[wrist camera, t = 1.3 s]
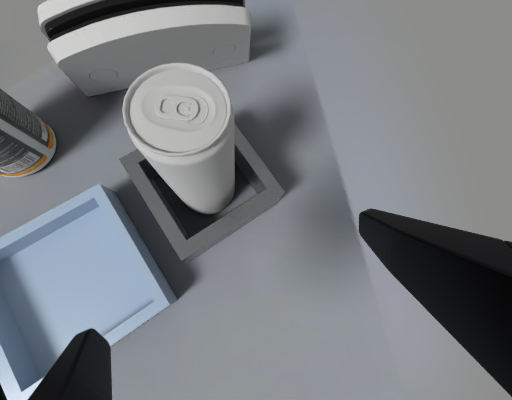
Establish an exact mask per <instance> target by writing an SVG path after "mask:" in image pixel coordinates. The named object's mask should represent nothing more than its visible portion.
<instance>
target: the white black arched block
mask: <svg viewBox="0 0 512 400" xmlns="http://www.w3.org/2000/svg"><path fill="white" fill-rule="evenodd" d="M37 10H38V17H39V24H40V29H41V31H42V32H43V34H44V35H45V36H46V37H47V38H48V40H49V41H50V43H48V46H47V48H48V51H49V52H50V54H51V55H52V57H53V59H54V60H55V62H56V63H57V65H58V67H59V68H60V69H61V70H62V71H63V72H64V73H65V74H66V75H67V76H68V77H69V78H70V79H71V80H72V81H73V82H74V83H75V84H76V86H77V87H78V88H79V89H80V90H81V91H82V92H83V93H84V94H85V95H86V96H87V97H90V96H94V95H99V94H104V93H108V92H113V91H117V90H122V89H127V88H129V87H130V86H131V84H132V83H133V82H134V81H135V80H136V79H137V78H138V77H139V76H140V75H142V74H143V73H145V72H146V71H148V70H149V69H152V68H154V67H157V66H159V65H163V64H169V63H188V64H192V65H196V66H199V67H202V68H204V69H206V70H207V71H210V70H215V69H219V68H224V67H229V66H233V65H238V64H243V63H247V62H249V51H250V37H251V21H250V12H249V10H248V9H247V8H245V0H48V1H46V2H44V3H42V4H41V5H39V6H38V9H37Z"/></svg>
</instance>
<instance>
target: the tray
mask: <svg viewBox="0 0 512 400" xmlns="http://www.w3.org/2000/svg"><path fill="white" fill-rule="evenodd" d="M177 300H178V299H177V297H176V296H175V294H174V292H173V291H172V289H171V287H170V286H169V284H168V282H167V280H166V279H165V277H164V275H163V274H162V272H161V270H160V269H159V267H158V265H157V264H156V262H155V260H154V258H153V257H152V255H151V253H150V252H149V250H148V248H147V247H146V245H145V243H144V241H143V240H142V238H141V236H140V235H139V233H138V231H137V230H136V228H135V226H134V224H133V223H132V221H131V219H130V218H129V216H128V214H127V213H126V211H125V209H124V208H123V206H122V204H121V202H120V201H119V199H118V197H117V196H116V194H115V192H113V191H111V190H110V189H108V188H106V187H104V186H103V185H101V184H97V185H96V186H94V187H92V188H90V189H88V190H86V191H85V192H83V193H81V194H79V195H77V196H75V197H74V198H72V199H70V200H68V201H66V202H64V203H62V204H61V205H59V206H57V207H55V208H53V209H51V210H50V211H48V212H46V213H44V214H42V215H40V216H39V217H37V218H35V219H33V220H31V221H29V222H28V223H26V224H24V225H22V226H20V227H18V228H17V229H15V230H13V231H11V232H9V233H7V234H6V235H4V236H2V237H0V383H1V386H2V388H3V390H4V393H5V395H6V397H7V400H28V398H29V397H30V396H31V394H32V393H33V392H34V390H35V389H36V388H37V386H38V385H39V383H40V382H41V381H42V379H43V378H44V377H45V375H46V374H47V373H48V371H49V370H50V368H51V367H52V366H53V364H54V363H55V362H56V360H57V359H58V358H59V356H60V355H61V354H62V352H63V351H64V349H65V348H66V347H67V345H68V344H69V343H70V341H71V340H72V339H73V337H74V336H75V335H76V334H78V333H80V332H82V331H85V330H87V329H89V328H93V329H95V330H96V331H97V332H98V333H100V334H101V335H102V336H103V337H104V338H105V339H106V340H107V341H108V343H109V345H110V347H111V346H112V345H114V344H115V343H117V342H118V341H120V340H121V339H122V338H124V337H125V336H127V335H128V334H130V333H131V332H132V331H134V330H135V329H137V328H138V327H140V326H141V325H143V324H144V323H145V322H147V321H148V320H150V319H151V318H153V317H154V316H155V315H157V314H158V313H160V312H161V311H163V310H164V309H165V308H167V307H168V306H170V305H171V304H173V303H174V302H176V301H177Z"/></svg>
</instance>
